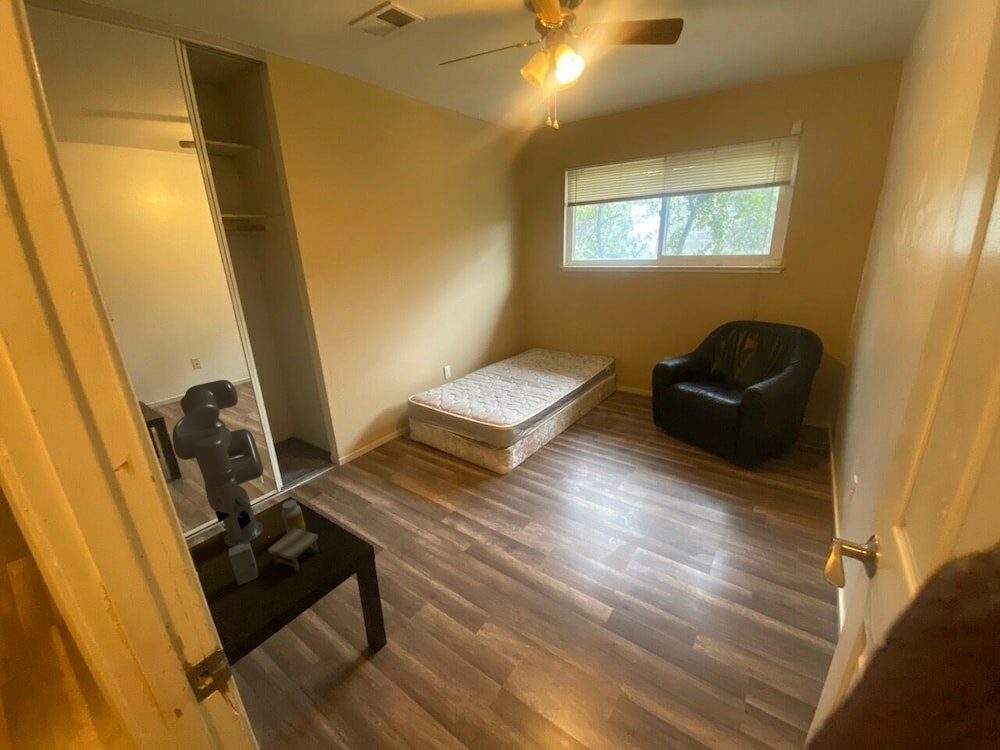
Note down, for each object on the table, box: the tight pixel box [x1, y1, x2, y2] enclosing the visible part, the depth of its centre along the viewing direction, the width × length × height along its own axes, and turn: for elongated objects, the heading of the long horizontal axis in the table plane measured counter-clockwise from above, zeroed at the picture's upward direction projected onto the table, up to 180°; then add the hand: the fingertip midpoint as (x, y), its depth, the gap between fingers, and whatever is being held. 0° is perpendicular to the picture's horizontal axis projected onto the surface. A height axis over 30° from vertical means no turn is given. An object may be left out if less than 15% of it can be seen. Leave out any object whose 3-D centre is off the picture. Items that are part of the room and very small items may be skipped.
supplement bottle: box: [281, 499, 307, 534], centre depth 152 cm, size 7×7×13 cm
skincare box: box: [228, 542, 259, 586], centre depth 132 cm, size 6×4×12 cm
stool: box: [267, 528, 319, 572], centre depth 140 cm, size 11×11×7 cm
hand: (234, 522), depth 127 cm, fingers open, 9 cm apart
